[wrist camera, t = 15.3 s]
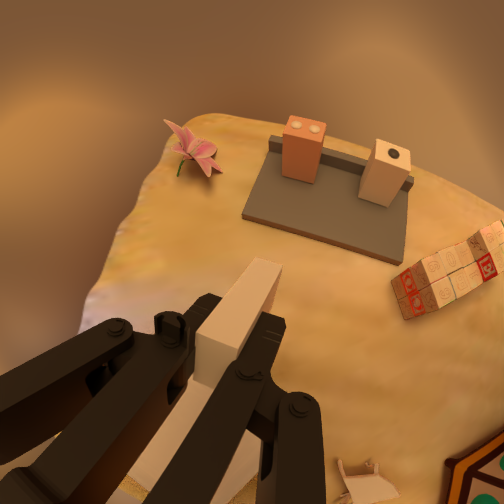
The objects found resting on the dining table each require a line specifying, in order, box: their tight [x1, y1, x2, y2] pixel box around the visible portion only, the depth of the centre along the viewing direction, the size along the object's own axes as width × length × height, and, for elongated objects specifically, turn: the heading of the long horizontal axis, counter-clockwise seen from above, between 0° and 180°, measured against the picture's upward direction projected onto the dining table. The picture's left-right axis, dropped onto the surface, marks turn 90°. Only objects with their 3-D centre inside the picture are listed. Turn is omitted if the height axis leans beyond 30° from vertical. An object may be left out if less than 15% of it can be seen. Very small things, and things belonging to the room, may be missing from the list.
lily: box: [164, 119, 223, 177], centre depth 41 cm, size 12×12×10 cm
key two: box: [282, 115, 327, 184], centre depth 36 cm, size 5×4×9 cm
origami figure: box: [337, 460, 401, 504], centre depth 22 cm, size 12×8×5 cm
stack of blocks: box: [391, 218, 504, 320], centre depth 28 cm, size 21×6×12 cm, turn 105°
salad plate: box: [127, 333, 261, 504], centre depth 27 cm, size 21×21×3 cm
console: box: [242, 135, 414, 266], centre depth 38 cm, size 24×14×4 cm, turn 70°
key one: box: [358, 139, 410, 207], centre depth 34 cm, size 5×4×9 cm
